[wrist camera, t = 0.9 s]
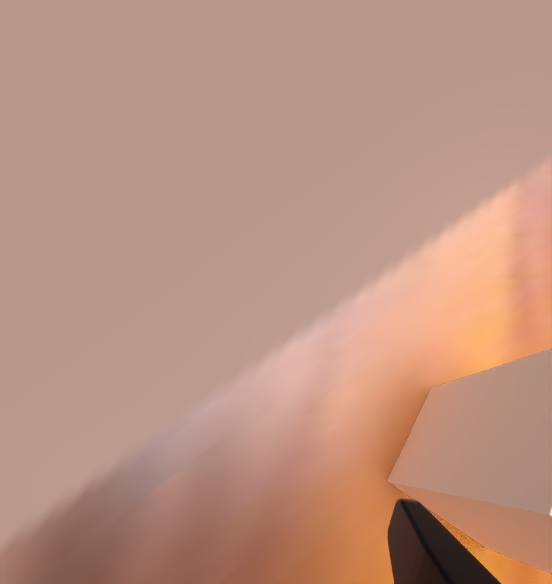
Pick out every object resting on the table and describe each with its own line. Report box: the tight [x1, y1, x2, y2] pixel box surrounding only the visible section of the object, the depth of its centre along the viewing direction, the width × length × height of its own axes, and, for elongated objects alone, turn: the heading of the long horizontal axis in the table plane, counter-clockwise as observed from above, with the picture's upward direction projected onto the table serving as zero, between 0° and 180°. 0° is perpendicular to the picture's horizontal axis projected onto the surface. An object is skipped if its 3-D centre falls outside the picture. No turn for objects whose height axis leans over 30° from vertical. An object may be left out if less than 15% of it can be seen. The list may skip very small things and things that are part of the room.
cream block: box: [387, 349, 552, 574], centre depth 17 cm, size 6×6×12 cm
